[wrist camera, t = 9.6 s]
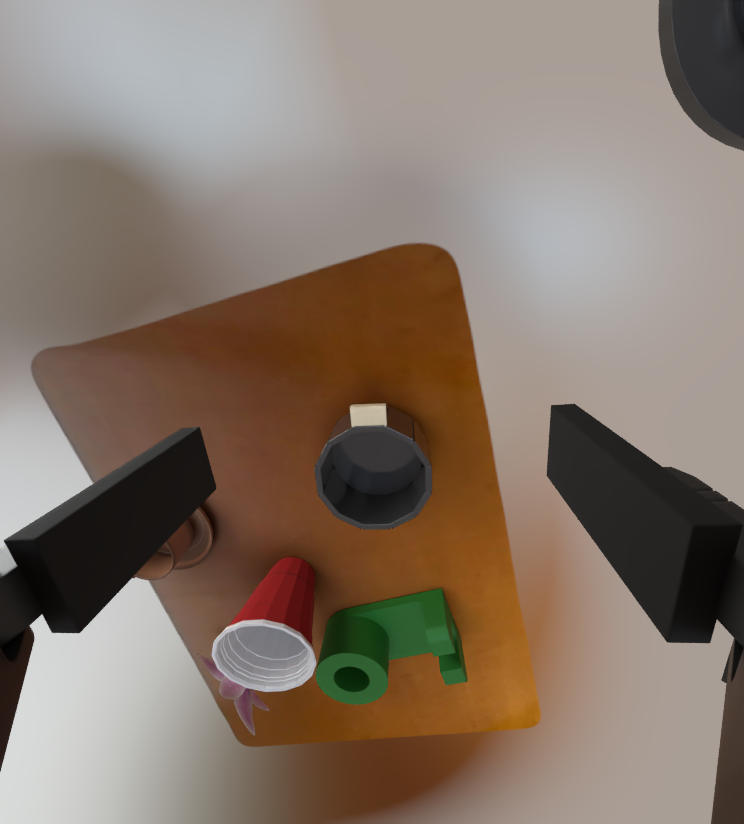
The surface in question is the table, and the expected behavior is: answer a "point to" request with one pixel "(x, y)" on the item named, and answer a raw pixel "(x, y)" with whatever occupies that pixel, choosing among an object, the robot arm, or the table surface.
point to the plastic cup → (272, 632)
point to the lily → (235, 694)
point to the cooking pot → (375, 468)
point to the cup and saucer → (181, 548)
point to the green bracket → (387, 644)
